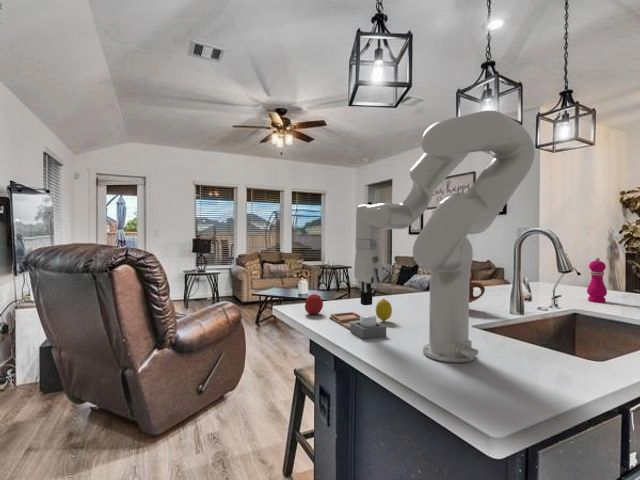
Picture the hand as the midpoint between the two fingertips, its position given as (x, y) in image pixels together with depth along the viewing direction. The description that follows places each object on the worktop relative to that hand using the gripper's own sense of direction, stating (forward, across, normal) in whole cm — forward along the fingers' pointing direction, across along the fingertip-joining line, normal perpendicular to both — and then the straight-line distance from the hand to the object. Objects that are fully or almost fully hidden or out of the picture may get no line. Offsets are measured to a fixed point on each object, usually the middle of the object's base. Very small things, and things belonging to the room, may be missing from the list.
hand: (366, 304), depth 113 cm
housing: (+9, -1, 0) cm, 9 cm away
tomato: (+10, +31, +6) cm, 33 cm away
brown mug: (+9, +17, -52) cm, 56 cm away
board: (+9, +13, -2) cm, 16 cm away
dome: (+8, -1, 0) cm, 8 cm away
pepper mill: (+8, +7, -122) cm, 123 cm away
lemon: (+10, +11, -13) cm, 20 cm away
